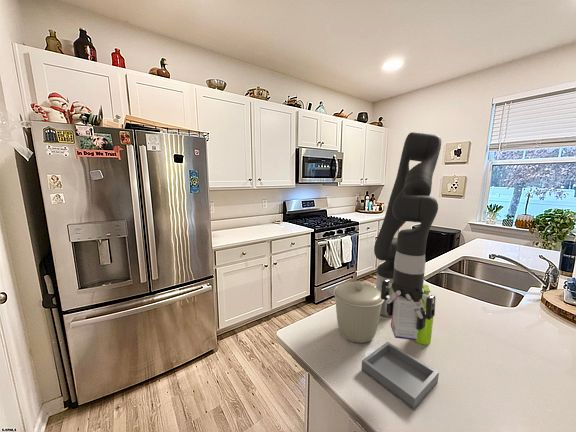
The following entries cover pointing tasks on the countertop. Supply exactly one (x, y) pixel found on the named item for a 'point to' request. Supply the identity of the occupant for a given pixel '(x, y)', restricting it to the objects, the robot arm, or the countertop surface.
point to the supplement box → (404, 319)
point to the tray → (400, 374)
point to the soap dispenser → (426, 332)
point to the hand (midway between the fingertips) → (404, 321)
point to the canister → (357, 310)
